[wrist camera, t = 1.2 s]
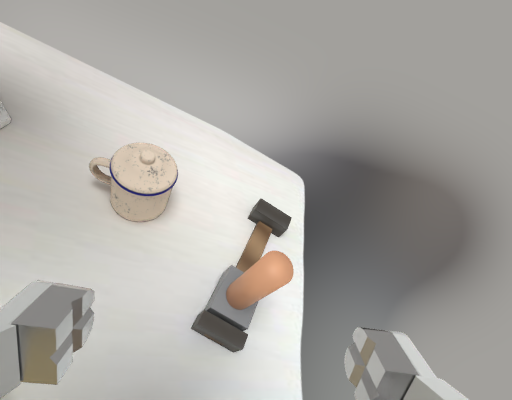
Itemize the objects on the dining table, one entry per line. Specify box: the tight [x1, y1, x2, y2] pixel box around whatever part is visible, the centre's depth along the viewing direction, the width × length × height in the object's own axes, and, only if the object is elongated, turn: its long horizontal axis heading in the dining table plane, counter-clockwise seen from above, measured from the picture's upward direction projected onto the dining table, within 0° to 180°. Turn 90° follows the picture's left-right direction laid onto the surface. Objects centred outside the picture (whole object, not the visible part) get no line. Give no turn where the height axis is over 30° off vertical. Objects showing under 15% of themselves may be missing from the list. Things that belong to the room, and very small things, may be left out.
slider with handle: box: [205, 251, 293, 331], centre depth 38 cm, size 7×6×16 cm
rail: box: [191, 199, 291, 352], centre depth 47 cm, size 25×7×4 cm, turn 157°
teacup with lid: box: [89, 143, 178, 222], centre depth 42 cm, size 12×9×12 cm
